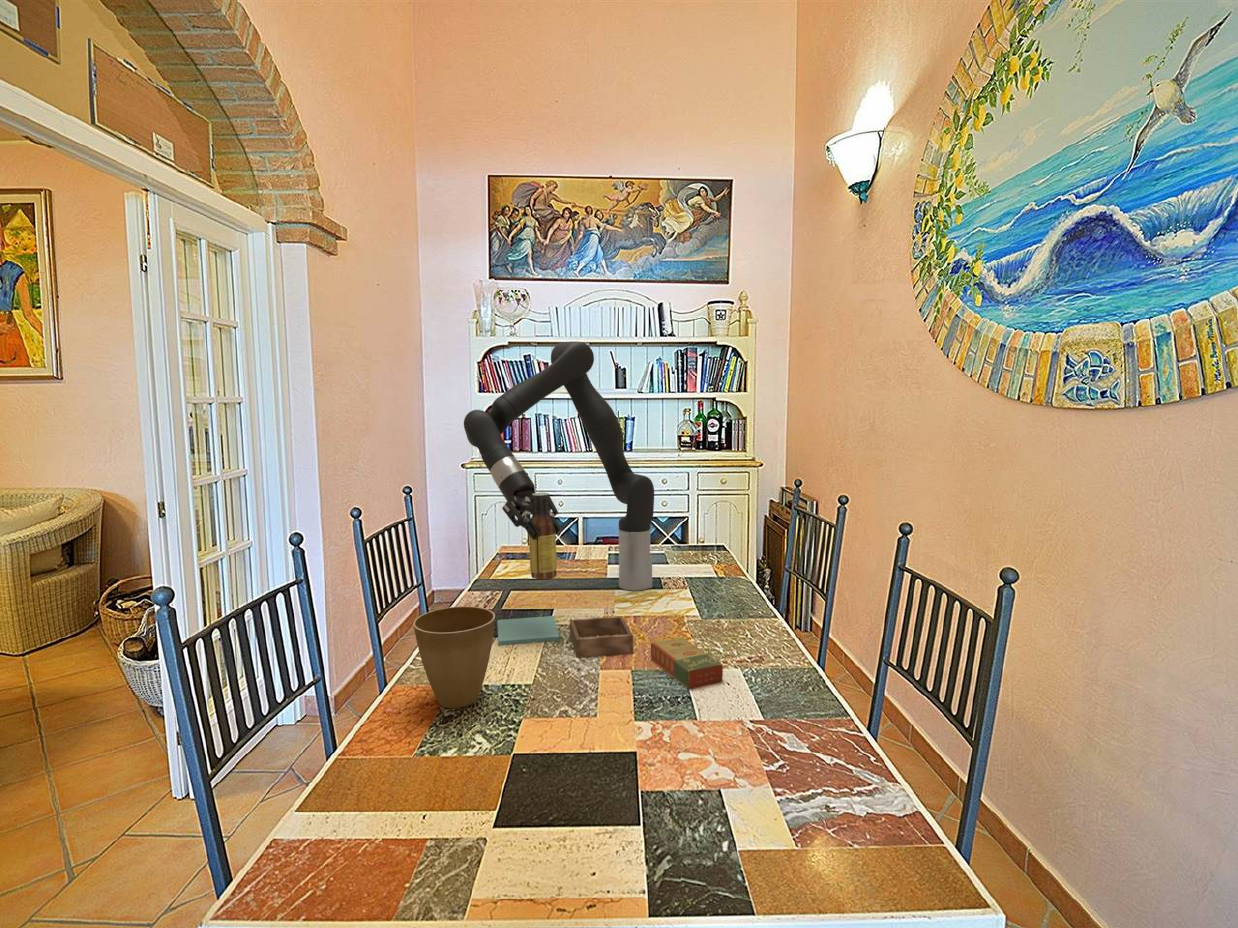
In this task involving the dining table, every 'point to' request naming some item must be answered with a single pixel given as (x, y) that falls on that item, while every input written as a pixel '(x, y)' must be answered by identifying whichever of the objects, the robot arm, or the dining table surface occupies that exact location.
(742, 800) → the dining table surface
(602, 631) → the frame
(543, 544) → the sauce bottle
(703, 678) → the carton
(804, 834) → the dining table surface
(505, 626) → the teal board
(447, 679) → the plant pot
